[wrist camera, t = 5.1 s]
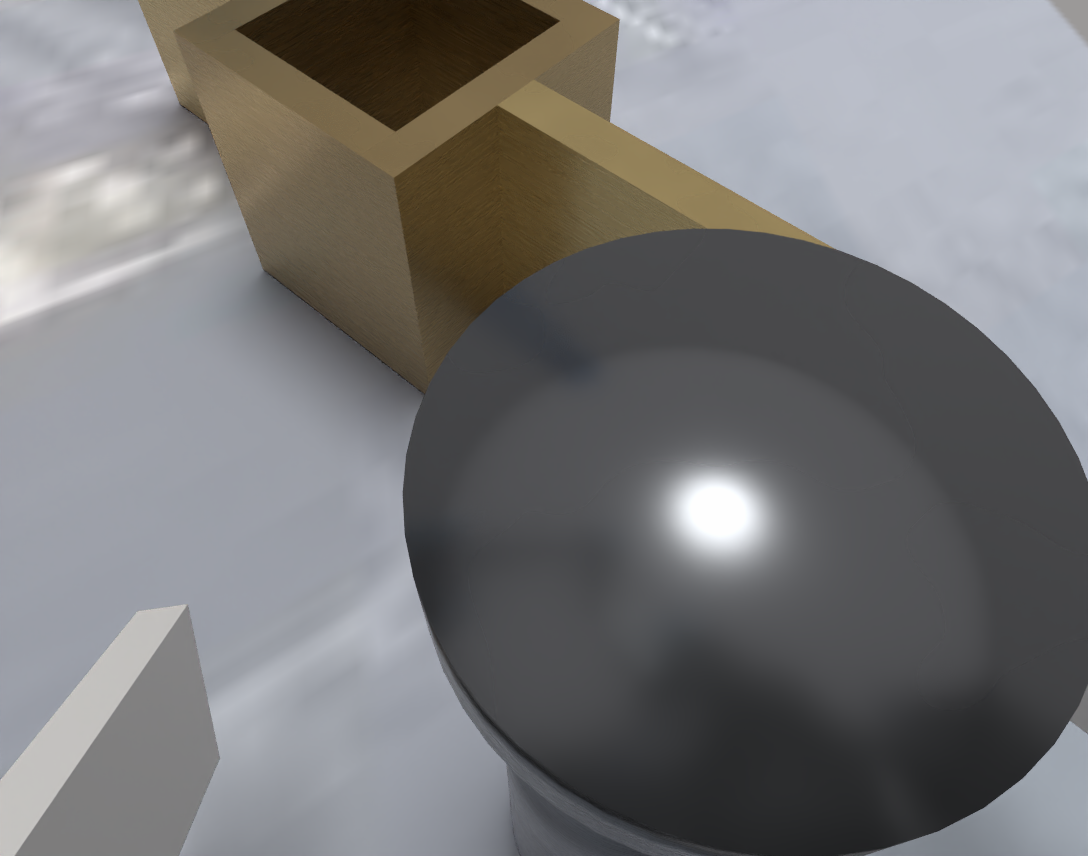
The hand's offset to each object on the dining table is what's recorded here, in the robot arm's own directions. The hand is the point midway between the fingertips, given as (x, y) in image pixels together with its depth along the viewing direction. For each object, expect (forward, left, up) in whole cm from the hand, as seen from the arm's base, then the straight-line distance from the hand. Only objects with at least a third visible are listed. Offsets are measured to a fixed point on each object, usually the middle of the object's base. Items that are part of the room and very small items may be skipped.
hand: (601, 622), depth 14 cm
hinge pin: (+2, -1, -6) cm, 7 cm away
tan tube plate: (-12, +8, -6) cm, 16 cm away
